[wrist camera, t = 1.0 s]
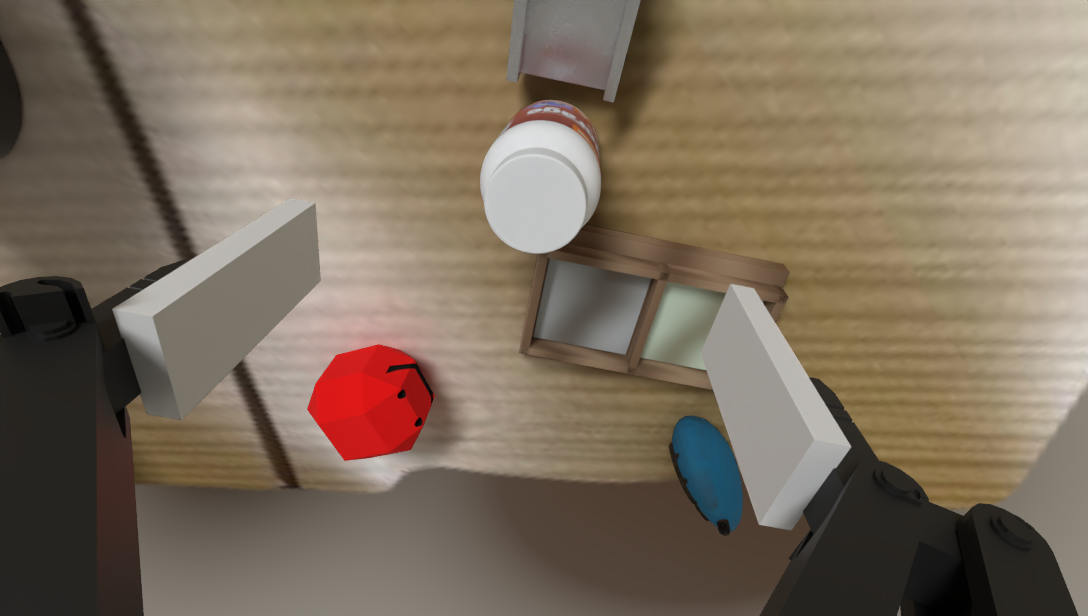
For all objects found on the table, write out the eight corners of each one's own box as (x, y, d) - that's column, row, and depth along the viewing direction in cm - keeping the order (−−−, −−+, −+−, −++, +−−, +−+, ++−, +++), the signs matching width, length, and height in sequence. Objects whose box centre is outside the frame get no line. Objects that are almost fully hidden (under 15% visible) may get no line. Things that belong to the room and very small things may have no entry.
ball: (451, 397, 43) (427, 466, 37) (371, 414, 45) (335, 483, 38) (410, 323, 39) (376, 385, 33) (325, 345, 41) (276, 408, 35)
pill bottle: (618, 130, 31) (632, 183, 21) (568, 212, 34) (561, 290, 24) (530, 77, 29) (504, 107, 20) (486, 166, 32) (446, 229, 23)
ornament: (650, 409, 42) (667, 510, 34) (701, 389, 41) (732, 489, 32) (691, 468, 45) (716, 574, 37) (740, 451, 44) (777, 558, 35)
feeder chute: (513, 74, 29) (501, 84, 25) (537, -107, 25) (528, -132, 21) (611, 94, 30) (615, 108, 25) (652, -82, 25) (666, -101, 21)
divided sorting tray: (520, 344, 40) (516, 364, 37) (545, 216, 34) (542, 231, 32) (725, 383, 40) (733, 406, 38) (783, 264, 34) (797, 282, 32)
